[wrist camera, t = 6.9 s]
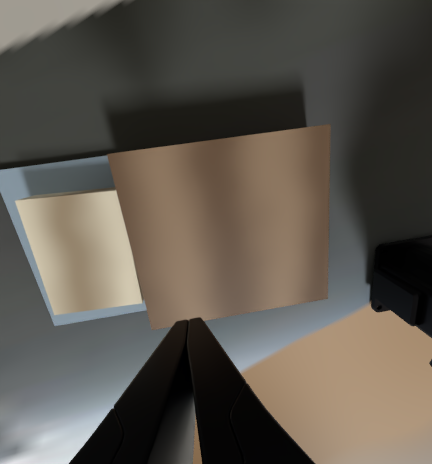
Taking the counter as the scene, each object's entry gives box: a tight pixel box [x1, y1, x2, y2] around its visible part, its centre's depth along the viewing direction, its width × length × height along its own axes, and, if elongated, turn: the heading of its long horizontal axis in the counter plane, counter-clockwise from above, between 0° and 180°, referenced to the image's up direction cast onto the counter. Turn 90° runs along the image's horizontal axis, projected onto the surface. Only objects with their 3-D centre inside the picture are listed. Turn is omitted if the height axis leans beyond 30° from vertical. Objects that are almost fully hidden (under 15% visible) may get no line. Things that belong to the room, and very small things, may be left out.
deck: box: [107, 124, 330, 330], centre depth 17 cm, size 13×12×3 cm
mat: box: [0, 156, 147, 326], centre depth 18 cm, size 8×12×1 cm, turn 8°
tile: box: [15, 187, 144, 315], centre depth 17 cm, size 6×8×2 cm
